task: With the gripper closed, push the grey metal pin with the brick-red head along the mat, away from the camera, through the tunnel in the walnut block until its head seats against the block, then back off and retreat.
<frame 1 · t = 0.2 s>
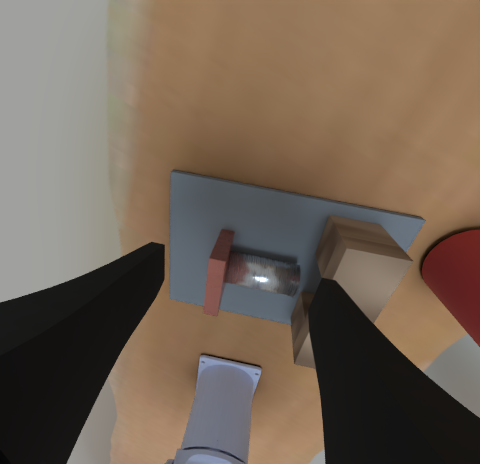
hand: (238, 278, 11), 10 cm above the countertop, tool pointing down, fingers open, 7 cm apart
pin: (230, 257, 22), point 1 cm above the countertop, touching mat
block: (329, 277, 21), resting on mat
beer can: (460, 259, 20), on the countertop
mat: (275, 262, 22), on the countertop
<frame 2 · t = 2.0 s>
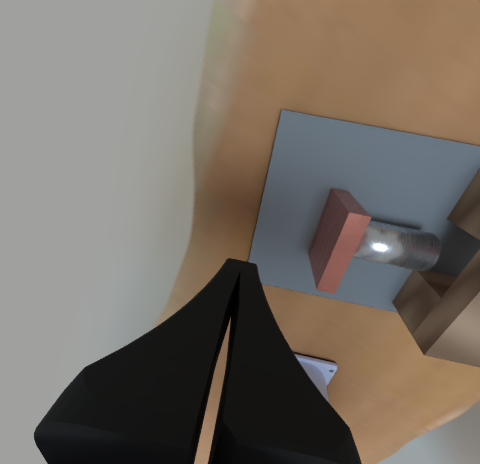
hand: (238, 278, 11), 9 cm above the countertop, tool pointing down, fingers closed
pin: (334, 225, 18), point 1 cm above the countertop, touching mat
block: (456, 250, 18), resting on mat
mat: (386, 233, 18), on the countertop
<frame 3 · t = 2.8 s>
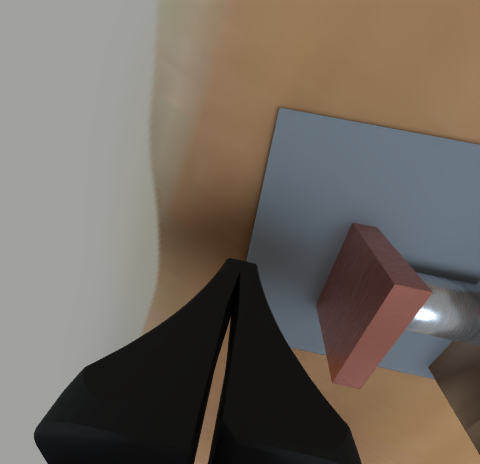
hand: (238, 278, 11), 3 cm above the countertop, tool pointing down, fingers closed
pin: (354, 272, 13), point 1 cm above the countertop, touching mat
mat: (426, 281, 13), on the countertop
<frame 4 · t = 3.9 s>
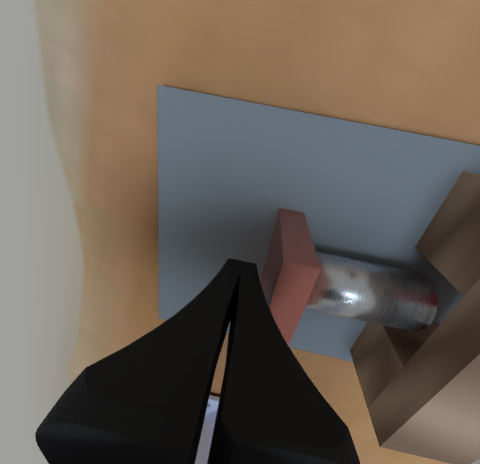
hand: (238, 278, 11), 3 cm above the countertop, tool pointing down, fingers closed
pin: (289, 259, 13), point 1 cm above the countertop, touching mat
block: (430, 289, 12), resting on mat
mat: (335, 263, 13), on the countertop
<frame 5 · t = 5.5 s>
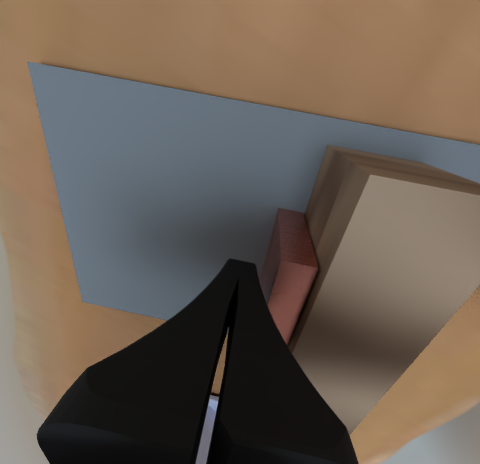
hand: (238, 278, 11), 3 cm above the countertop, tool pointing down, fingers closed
pin: (288, 258, 13), point 1 cm above the countertop, touching gripper, mat
block: (326, 267, 13), resting on mat
mat: (237, 242, 13), on the countertop
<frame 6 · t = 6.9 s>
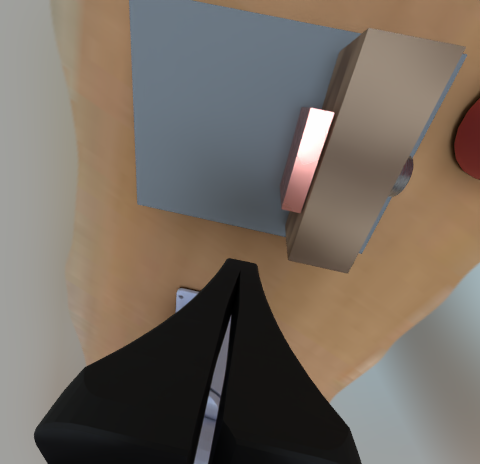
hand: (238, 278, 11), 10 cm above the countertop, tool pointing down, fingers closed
pin: (306, 153, 17), point 1 cm above the countertop, touching mat
block: (334, 159, 17), resting on mat
mat: (267, 144, 18), on the countertop
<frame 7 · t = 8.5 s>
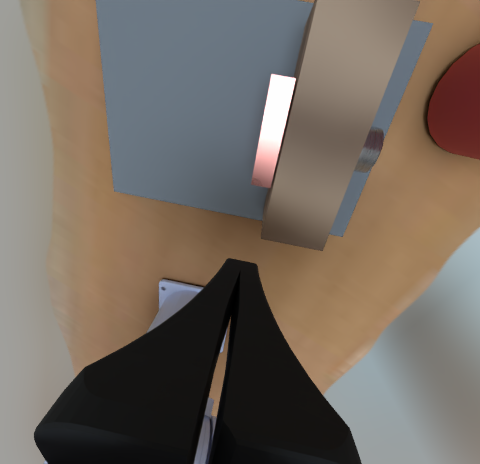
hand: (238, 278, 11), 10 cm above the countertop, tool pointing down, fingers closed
pin: (279, 132, 17), point 1 cm above the countertop, touching mat
block: (308, 138, 17), resting on mat
beer can: (477, 100, 15), on the countertop
mat: (240, 124, 17), on the countertop
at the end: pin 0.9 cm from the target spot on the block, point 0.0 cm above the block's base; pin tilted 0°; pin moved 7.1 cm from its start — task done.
